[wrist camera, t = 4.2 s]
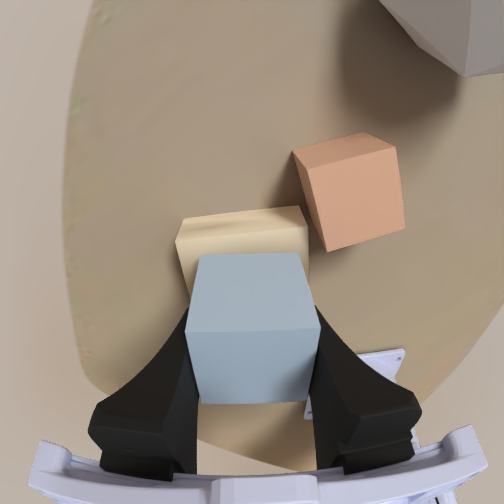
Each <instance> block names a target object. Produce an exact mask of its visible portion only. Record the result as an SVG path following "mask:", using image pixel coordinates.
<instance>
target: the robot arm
mask: <svg viewBox="0 0 504 504" xmlns="http://www.w3.org/2000/svg"><path fill="white" fill-rule="evenodd" d="M315 309H316V312H317V316H318V319H319V323H320V326H321V330H320V336H319V341H318V346H317V352H316V357H315V362H314V367H313V372H312V377H311V381H310V386H309V391H308V392H309V394H308V398H307V403H306V407H305V411H304V419H306V420H309V419H313V426H314V436H315V447H316V462H317V470H315V471H306V472H297V473H286V474H272V475H249V476H220V475H219V476H217V475H197V415H198V401H199V391H198V387H197V383H196V379H195V374H194V370H193V366H192V362H191V357H190V353H189V348H188V344H187V339H186V335H185V329H186V323H187V318H188V313H189V308H187V309H186V311H185V313H184V315H183V316H182V318H181V320H180V322H179V323H178V325H177V326H176V328H175V330H174V331H173V333H172V334H171V336H170V337H169V338H168V340H167V341H166V343H165V344H164V345H163V347H162V348H161V349H160V350H159V352H158V353H157V354H156V355H155V357H154V358H153V359H152V360H151V361H150V362H149V363H148V364H147V365H146V367H145V368H144V369H143V370H141V371H140V372H139V373H138V374H137V375H136V376H135V377H134V378H133V379H132V380H131V381H129V382H128V383H127V384H126V385H124V386H123V387H122V388H121V389H119V390H118V391H117V392H115V393H114V394H112V395H111V396H109V397H107V398H106V399H104V400H103V401H101V402H99V403H98V404H97V405H96V408H95V410H94V412H93V414H92V418H91V420H90V424H89V427H88V434H89V436H90V437H91V439H92V440H93V441H94V442H95V443H96V444H97V445H98V446H99V447H100V449H101V450H102V455H101V459H100V461H95V460H91V459H87V458H82V457H79V456H75V455H72V454H71V453H70V451H69V450H68V449H66V448H65V447H63V446H60V445H57V444H54V443H51V442H47V441H44V440H41V441H40V444H39V447H38V450H37V453H36V457H35V459H34V463H33V466H32V469H31V472H30V476H29V479H28V485H29V486H31V487H32V488H34V489H35V490H37V491H38V492H40V493H41V494H43V495H45V496H46V497H48V498H50V499H51V500H53V501H55V502H57V503H59V504H458V502H457V498H456V495H455V491H454V489H456V488H458V487H460V486H461V485H463V484H465V483H466V482H467V481H469V480H470V479H472V478H473V477H475V476H476V475H477V474H479V473H480V472H481V471H483V470H484V469H485V468H486V467H487V466H488V464H487V461H486V458H485V456H484V453H483V451H482V448H481V446H480V444H479V441H478V439H477V437H476V434H475V432H474V430H473V427H472V425H470V424H469V425H467V426H464V427H461V428H459V429H456V430H454V431H451V432H450V433H448V434H447V435H446V436H445V437H444V438H443V439H442V441H440V442H437V443H434V444H431V445H428V446H425V447H421V446H420V444H419V441H418V438H417V435H416V432H415V430H414V426H415V424H416V423H417V422H418V420H419V418H420V417H421V415H422V410H421V407H420V405H419V403H418V400H417V399H416V397H415V395H414V393H413V392H411V391H409V390H407V389H405V388H403V387H401V386H399V385H397V383H396V380H395V378H394V377H395V375H396V373H397V370H398V368H399V366H400V364H401V362H402V360H403V358H404V356H405V351H404V349H394V350H387V351H380V352H373V353H365V354H357V355H356V354H355V353H354V352H353V351H352V350H351V349H350V348H349V347H348V346H347V345H346V344H345V343H344V342H343V341H342V340H341V338H340V337H339V336H338V335H337V334H336V332H335V331H334V330H333V329H332V328H331V326H330V325H329V324H328V322H327V321H326V320H325V318H324V317H323V316H322V314H321V313H320V311H319V310H318V309H317V307H316V306H315Z"/></svg>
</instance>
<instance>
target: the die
mask: <svg viewBox="0 0 504 504" xmlns="http://www.w3.org/2000/svg"><path fill="white" fill-rule="evenodd" d="M379 1H380V2H381V3H382V4H383V5H384V7H385V8H386V9H387V10H388V11H389V12H390V13H391V14H392V15H393V17H394V18H395V19H396V20H397V21H398V22H399V24H400V25H401V26H402V27H403V28H404V30H405V31H406V32H407V33H408V35H409V36H410V37H411V38H412V40H413V41H414V42H415V43H416V45H417V46H418V47H419V48H421V49H422V50H424V51H426V52H427V53H429V54H430V55H432V56H433V57H435V58H436V59H438V60H439V61H441V62H442V63H444V64H445V65H447V66H448V67H450V68H451V69H452V70H454V71H455V72H456V73H458V74H459V75H461V76H462V77H463V78H467V77H474V76H481V75H488V74H497V73H503V72H504V0H379Z"/></svg>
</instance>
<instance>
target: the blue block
mask: <svg viewBox="0 0 504 504" xmlns="http://www.w3.org/2000/svg"><path fill="white" fill-rule="evenodd" d="M320 330H321V326H320V323H319V319H318V316H317V312H316V309H315V305H314V302H313V299H312V295H311V292H310V288H309V285H308V282H307V279H306V275H305V272H304V269H303V265H302V262H301V259H300V256H299V253H298V252H292V253H255V254H216V255H200V259H199V264H198V268H197V273H196V278H195V283H194V288H193V293H192V298H191V303H190V308H189V313H188V318H187V323H186V329H185V335H186V339H187V344H188V348H189V353H190V357H191V362H192V366H193V370H194V374H195V379H196V383H197V387H198V391H199V395H200V399H201V402H202V404H259V403H279V402H294V401H306V400H307V395H308V391H309V386H310V381H311V377H312V372H313V367H314V362H315V357H316V352H317V346H318V341H319V336H320Z"/></svg>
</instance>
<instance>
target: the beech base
mask: <svg viewBox="0 0 504 504" xmlns="http://www.w3.org/2000/svg"><path fill="white" fill-rule="evenodd" d="M175 244H176V248H177V252H178V256H179V259H180V263H181V267H182V271H183V274H184V278H185V282H186V285H187V289H188V292H189V296H190V300H191V298H192V293H193V288H194V283H195V278H196V273H197V268H198V264H199V259H200V255H216V254H255V253H292V252H298V253H299V256H300V259H301V262H302V265H303V269H304V272H305V275H306V279H307V282H308V285H309V251H308V226H307V223H306V221H305V219H304V216H303V214H302V212H301V209H300V207H299V205H297V206H287V207H278V208H268V209H259V210H250V211H242V212H233V213H225V214H217V215H209V216H201V217H194V218H186V219H184V220H183V222H182V225H181V227H180V230H179V232H178V235H177V237H176V240H175Z"/></svg>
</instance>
